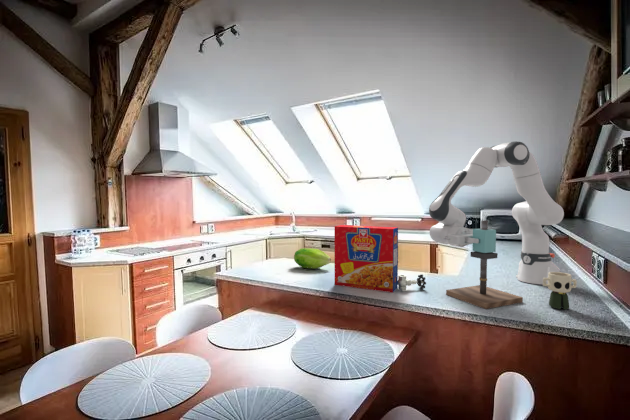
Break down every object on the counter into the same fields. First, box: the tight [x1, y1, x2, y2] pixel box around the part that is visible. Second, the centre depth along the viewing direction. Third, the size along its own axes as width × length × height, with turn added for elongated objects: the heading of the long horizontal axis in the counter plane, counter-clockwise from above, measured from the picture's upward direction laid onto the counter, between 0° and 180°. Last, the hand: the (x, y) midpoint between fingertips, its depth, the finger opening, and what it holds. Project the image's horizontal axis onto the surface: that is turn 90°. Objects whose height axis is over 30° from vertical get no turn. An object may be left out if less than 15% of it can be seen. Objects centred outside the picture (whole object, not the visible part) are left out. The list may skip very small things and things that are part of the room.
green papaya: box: [293, 247, 332, 270], centre depth 198 cm, size 13×23×12 cm, turn 64°
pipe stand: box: [445, 220, 524, 310], centre depth 140 cm, size 20×20×32 cm
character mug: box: [542, 271, 578, 310], centre depth 128 cm, size 11×7×13 cm, turn 74°
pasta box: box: [334, 224, 399, 293], centre depth 159 cm, size 28×8×28 cm, turn 62°
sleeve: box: [471, 228, 497, 253], centre depth 140 cm, size 6×6×9 cm
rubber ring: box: [470, 251, 498, 260], centre depth 140 cm, size 7×7×2 cm
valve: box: [397, 274, 427, 292], centre depth 155 cm, size 7×7×12 cm
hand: (485, 240), depth 139 cm, fingers closed on sleeve, 6 cm apart
